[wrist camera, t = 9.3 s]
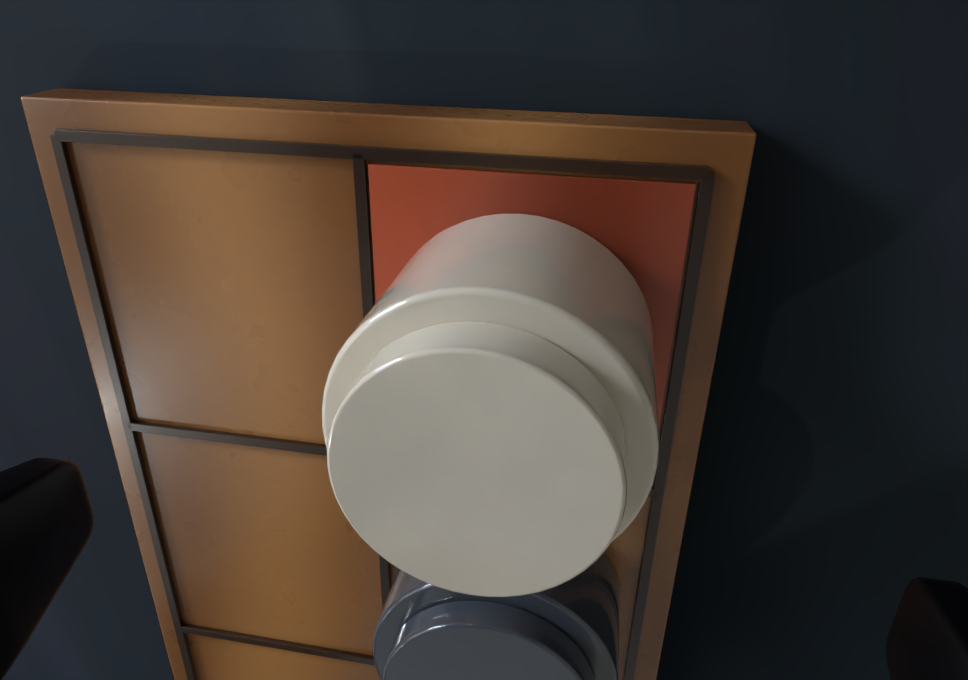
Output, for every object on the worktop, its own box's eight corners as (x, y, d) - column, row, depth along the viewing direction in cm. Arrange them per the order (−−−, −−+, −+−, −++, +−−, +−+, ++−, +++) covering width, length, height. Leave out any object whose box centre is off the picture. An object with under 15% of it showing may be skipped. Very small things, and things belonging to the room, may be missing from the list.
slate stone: (406, 644, 17) (368, 760, 14) (399, 484, 14) (352, 588, 12) (609, 678, 16) (604, 806, 13) (632, 515, 14) (631, 632, 11)
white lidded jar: (393, 436, 14) (312, 593, 10) (382, 202, 12) (275, 299, 8) (637, 465, 13) (638, 644, 10) (670, 221, 11) (687, 338, 8)
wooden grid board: (218, 749, 22) (198, 786, 21) (59, 88, 13) (13, 97, 12) (621, 830, 20) (621, 874, 19) (747, 121, 11) (758, 134, 10)
